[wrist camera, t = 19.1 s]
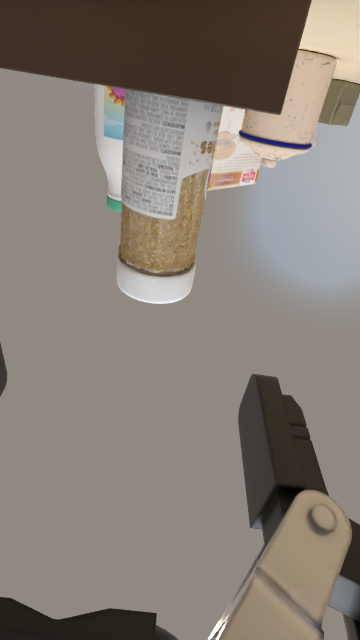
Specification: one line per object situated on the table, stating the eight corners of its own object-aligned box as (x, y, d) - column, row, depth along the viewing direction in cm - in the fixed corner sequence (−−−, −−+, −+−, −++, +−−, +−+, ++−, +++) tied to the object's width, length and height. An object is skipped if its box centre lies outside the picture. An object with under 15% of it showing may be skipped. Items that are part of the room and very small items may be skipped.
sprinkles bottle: (250, 0, 14) (197, 277, 22) (148, -15, 15) (131, 262, 23) (242, -31, 11) (181, 315, 18) (105, -50, 11) (103, 295, 19)
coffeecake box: (197, 47, 52) (180, 180, 63) (234, 51, 48) (208, 192, 59) (253, 61, 61) (229, 175, 72) (287, 65, 57) (256, 185, 69)
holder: (-253, -177, 9) (-175, 38, 11) (329, -64, 9) (280, 115, 12) (-58, -68, 15) (-36, 52, 18) (275, -6, 16) (251, 101, 18)
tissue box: (292, 75, 87) (274, 143, 96) (271, 70, 81) (254, 144, 90) (364, 85, 76) (335, 160, 86) (346, 80, 70) (317, 162, 80)
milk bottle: (141, 29, 41) (132, 197, 53) (81, 15, 37) (85, 201, 48) (180, 31, 36) (160, 215, 48) (116, 14, 32) (111, 220, 44)
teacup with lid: (244, 41, 36) (221, 161, 42) (331, 52, 32) (290, 180, 39) (279, 56, 44) (255, 153, 51) (350, 66, 41) (315, 168, 48)
